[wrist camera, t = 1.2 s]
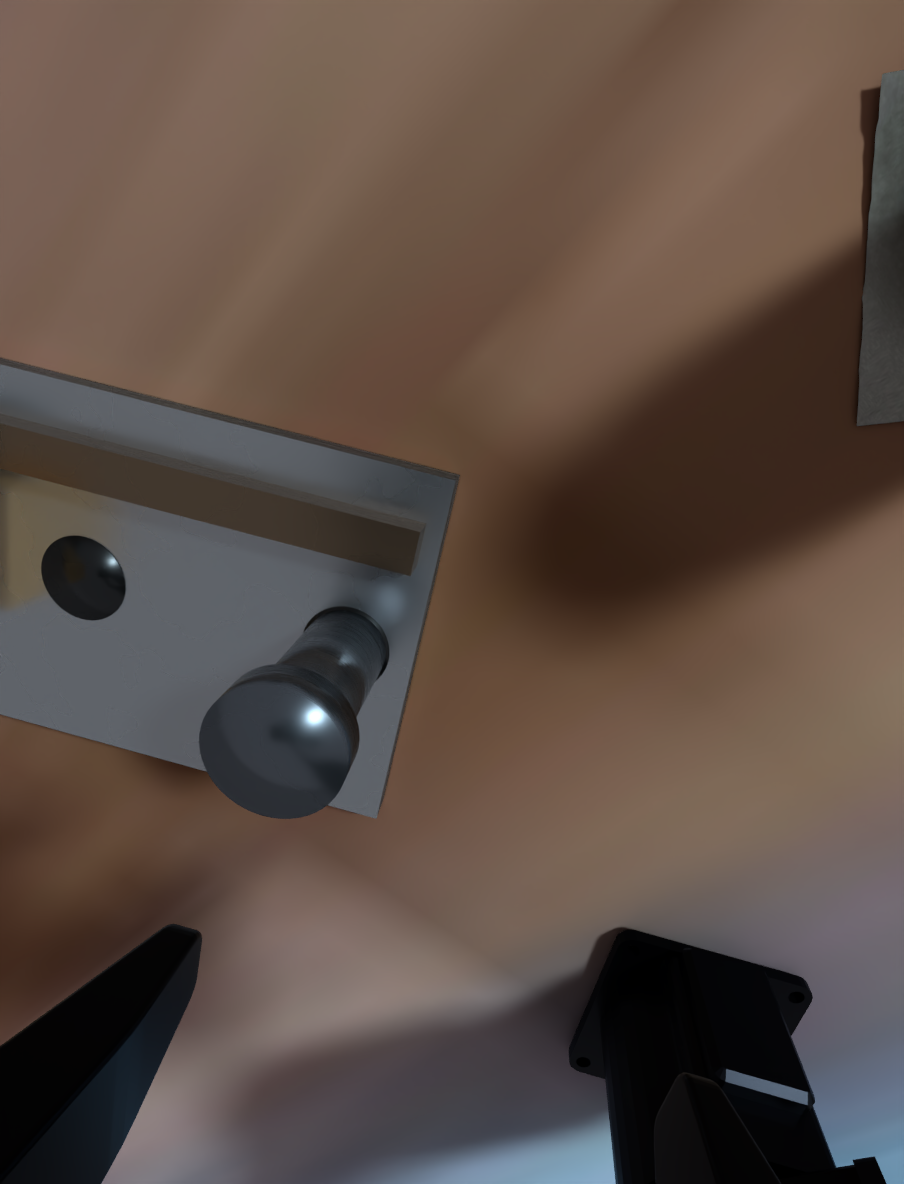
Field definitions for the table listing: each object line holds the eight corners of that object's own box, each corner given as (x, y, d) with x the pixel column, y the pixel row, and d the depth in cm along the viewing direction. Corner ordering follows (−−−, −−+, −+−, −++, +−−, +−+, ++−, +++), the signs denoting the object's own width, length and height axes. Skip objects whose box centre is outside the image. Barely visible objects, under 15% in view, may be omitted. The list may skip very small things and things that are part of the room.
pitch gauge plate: (383, 798, 21) (322, 970, 15) (-70, 674, 22) (-303, 790, 16) (460, 474, 18) (420, 528, 11) (-88, 335, 18) (-402, 315, 12)
